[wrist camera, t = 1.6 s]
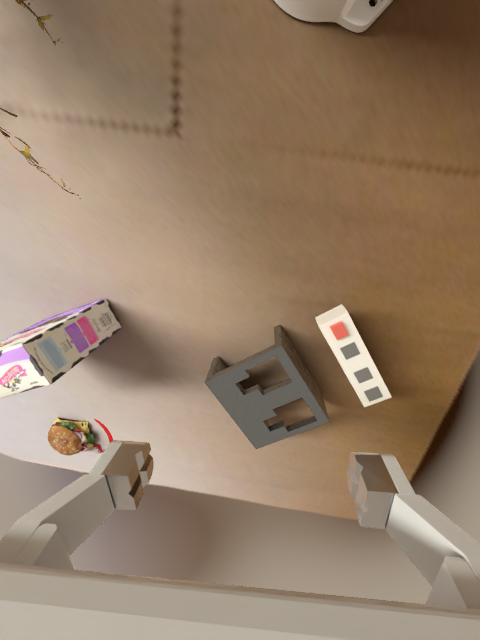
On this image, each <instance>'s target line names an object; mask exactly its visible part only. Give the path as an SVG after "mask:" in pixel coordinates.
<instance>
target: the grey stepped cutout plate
mask: <svg viewBox="0 0 480 640" xmlns="http://www.w3.org/2000/svg"><path fill="white" fill-rule="evenodd" d="M274 333H275V345H273V346H271V347H269V348H267V349H265V350H263V351H261V352H259V353H257V354H255V355H252V356H250V357H248V358H246V359H244V360H242V361H240V362H238V363H236V364H234V365H232V366H230V367H228V368H227V367H226V366H225V364H224V363H223V362H222V360H221V359H220V358H219V356H218V357H216V358H214V359H213V362H212V365H211V367H210V370H209V373H208V375H207V378H206V381H205V384H206V385H207V386H208V388H209V389H210V390H211V391H212V393H213V394H214V395H215V397H216V398H217V399H218V401H219V402H220V403H221V404H222V406H223V407H224V408H225V410H226V411H227V412H228V413H229V415H230V416H231V417H232V419H233V420H234V421H235V423H236V424H237V425H238V426H239V428H240V429H241V430H242V432H243V433H244V434H245V435H246V437H247V438H248V439H249V441H250V442H251V443H252V445H253V446H254V447H255V448H256V449H258V448H261V447H264V446H266V445H269V444H272V443H274V442H277V441H280V440H282V439H285V438H288V437H291V436H293V435H296V434H299V433H301V432H304V431H307V430H309V429H312V428H315V427H318V426H320V425H323V424H326V423H328V422H330V421H329V418H328V414H327V410H326V407H325V403H324V400H323V396H322V392H321V391H320V389H319V388H318V386H317V384H316V383H315V381H314V379H313V378H312V376H311V375H310V373H309V371H308V370H307V368H306V366H305V365H304V363H303V362H302V360H301V358H300V357H299V355H298V353H297V352H296V350H295V349H294V347H293V345H292V344H291V342H290V340H289V339H288V337H287V336H286V334H285V332H284V331H283V329H282V327H281V326H280V325H278V326H276V327H274ZM274 356H276V357H277V359H278V360H279V362H280V364H281V365H282V367H283V368H284V370H285V371H286V373H287V374H288V376H289V377H290V378H289V379H287V380H285V381H283V382H280V383H278V384H276V385H274V386H271V387H269V388H267V389H264V390H262V388H261V387H260V386H259V384H257V385H255V386H253V387H251V388H249V389H246V390H244V389H243V388H242V386H241V385H240V383H239V382H240V381H242V380H244V379H246V378H248V377H250V371H249V370H248V369H249V368H251V367H253V366H255V365H257V364H259V363H261V362H263V361H265V360H268V359H270V358H272V357H274ZM299 398H303V399H304V401H305V402H306V404H307V405H308V407H309V408H310V410H311V411H312V413H313V414H314V416H313V417H310V418H308V419H305V420H303V421H300V422H297V423H295V424H292V425H290V426H287V424H286V423H285V421H282V422H279V423H277V424H274V425H271V426H270V425H269V423H268V422H267V421H266V420H267V419H269V418H272V417H274V416H277V410H276V409H275V408H277V407H280V406H282V405H285V404H287V403H290V402H292V401H294V400H297V399H299Z"/></svg>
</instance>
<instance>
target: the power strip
mask: <svg viewBox="0 0 480 640" xmlns="http://www.w3.org/2000/svg"><path fill="white" fill-rule="evenodd" d="M315 319H316V321H317V324H318V326H319V328H320V330H321V332H322V333H323V335H324V337H325V339H326V340H327V342H328V344H329V346H330V347H331V349H332V351H333V353H334V354H335V356H336V358H337V360H338V362H339V363H340V365H341V367H342V369H343V370H344V372H345V374H346V376H347V377H348V379H349V381H350V383H351V385H352V386H353V388H354V390H355V392H356V393H357V395H358V397H359V399H360V400H361V402H362V404H363V406H364V407H367V406H369V405H372V404H375V403H378V402H380V401H383V400H386V399H388V398H391V395H390V393H389V391H388V389H387V387H386V385H385V383H384V381H383V379H382V377H381V375H380V373H379V371H378V370H377V368H376V366H375V364H374V362H373V360H372V358H371V356H370V354H369V352H368V350H367V348H366V346H365V344H364V342H363V341H362V339H361V337H360V335H359V333H358V331H357V329H356V327H355V325H354V323H353V321H352V319H351V317H350V315H349V314H348V312H347V310H346V309H345V308H344V306H343V305H342V304H341V305H339V306H337V307H335V308H333V309H331V310H329V311H327V312H325V313H323V314H321V315H319V316H317V317H315Z"/></svg>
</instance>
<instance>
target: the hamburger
mask: <svg viewBox="0 0 480 640" xmlns="http://www.w3.org/2000/svg"><path fill="white" fill-rule="evenodd" d="M94 420H95V421H96V422H98V423H99V424H100V425H101V426H102V428H103V429H104V430H105V432H106V433H107V435H108V438H109V441H110V443H111V442H112V441H113V438H112V436H111V434H110V432H109V430H108V429H107V428H106V427H105V426H104V425H103V424H102V423H101V422H99V421H98V420H96V419H94ZM82 423H83V424H84V425H83V426H82ZM85 423H86V425H85ZM48 441H49V443H50V445H51V446H52V447H53V448H54V449H55V450H56V451H58V452H59V453H61V454H64V455H66V456H67V455H72V454H76V453H79V452H80V451H86V450H88V449H90V447H89V446H91V447H92V446H93V445H92V444H94V446H93V447H98V448H96V449H98V452H96V453H103V452H104V449H103V450H102V448H101V445H99V444H95V443H93V442H94V436H93V434H90V431H89V428H88V421H85V422H84V421H80V422H74V421H69V420H59V419H58V418H57V420H55V421H54V422H53V425H52V427H51V429H50V431H49V433H48ZM99 450H100V452H99Z"/></svg>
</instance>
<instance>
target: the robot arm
mask: <svg viewBox="0 0 480 640" xmlns="http://www.w3.org/2000/svg"><path fill="white" fill-rule="evenodd" d="M274 1H275V2H276V3H277V5H278V6H279V7H280V8H282V9H283V10H284V11H285V12H287V13H288V14H290V15H291V16H293V17H295V18H298V19H300V20H304V21H309V22H335V23H338V24H339V25H341V26H343V27H344V28H346V29H348V30H350V31H353V32H356V33H360V32H363V31H365V30H366V29H367V28H369V27H370V25H371V24H372V23H373V22H374V21H375V20H376V19H377V18H378V17H379V16H380V14H381V13H382V12H383V11H384V10H385V9H386V8H387V7H388V6H389V5H390V3H391V2H392V1H393V0H374V1H375V6H374V7H371V6H370V5H369V1H370V0H274ZM150 450H151V448H150V444H149V443H146V442H133V441H117V440H113V441H112V442H111V443H110V444H109V445H108V447H107V448H106V450H105V451H104V452H103V454H102V455H101V457H100V458H99V460H98V461H97V463H96V464H95V466H94V467H93V468H92V470H91V471H90V473H89V474H85V475H83V476H82V477H80V478H79V479H77V480H76V481H74V482H73V483H71V484H70V485H68V486H67V487H65V488H64V489H62V490H61V491H59V492H58V493H56V494H55V495H53V496H52V497H51V498H49V499H47V500H46V501H44V502H43V503H42V504H40V505H39V506H37V507H35V508H34V509H32V510H31V511H29V512H28V513H27V514H25V515H24V516H22V517H21V518H19V519H18V520H17V521H16V522H15V523H14V524H13V526H12V527H11V528H10V529H9V531H8V532H7V533H6V534H5V536H4V537H3V538H2V539H1V540H0V640H480V544H479V543H478V542H477V541H476V540H475V539H473V538H472V537H471V536H470V535H468V534H467V533H466V532H465V531H463V530H462V529H461V528H460V527H459V526H457V525H456V524H455V523H454V522H452V521H451V520H450V519H448V517H446V516H445V515H444V514H442V513H441V512H440V511H439V510H438V509H437V508H435V507H434V506H433V505H432V504H430V503H429V502H428V501H427V500H426V499H424V498H423V497H422V496H421V495H416V494H415V493H414V490H413V489H412V487H411V485H410V483H409V481H408V479H407V478H406V476H405V474H404V472H403V470H402V468H401V467H400V465H399V463H398V461H397V459H396V457H395V456H394V455H393V454H380V453H379V454H377V453H357V452H351V454H350V458H349V460H350V463H351V466H350V467H349V468H348V471H347V481H348V487H349V491H350V494H351V496H352V497H353V498H354V499H355V500H356V501H355V507H354V508H355V511H356V514H357V517H358V521H359V524H360V527H368V528H379V529H386V530H385V531H386V532H387V533H388V534H389V536H390V537H391V538H392V539H393V540H394V541H395V543H396V544H397V545H398V546H399V547H400V549H401V550H402V551H403V552H404V553H405V554H406V556H407V557H408V558H409V559H410V560H411V562H412V563H413V564H414V565H415V566H416V568H417V569H418V570H419V571H420V572H421V574H422V575H423V576H424V577H425V578H426V580H427V581H428V582H429V583H430V584H431V586H432V590H431V592H430V595H429V597H428V600H427V602H426V604H415V603H406V602H395V601H385V600H375V599H365V598H354V597H344V596H335V595H325V594H315V593H304V592H295V591H284V590H274V589H264V588H254V587H244V586H234V585H224V584H213V583H202V582H193V581H182V580H173V579H162V578H153V577H142V576H132V575H122V574H111V573H102V572H92V571H82V570H75V567H74V564H73V562H72V560H71V557H70V555H71V554H72V553H73V552H74V551H75V550H76V549H77V548H78V547H79V546H80V545H81V544H82V543H83V542H84V541H85V540H86V539H87V538H88V537H89V536H90V535H91V534H92V533H93V532H94V531H95V530H96V529H97V528H98V527H99V526H100V525H101V524H102V523H103V522H104V521H105V520H106V519H107V518H108V517H109V516H110V515H111V514H112V513H113V512H114V511H115V509H124V510H125V509H126V510H137V508H138V506H139V503H140V501H141V499H142V497H143V494H144V492H143V487H144V486H145V485H146V484H147V483H149V481H150V478H151V476H152V471H153V457H152V456H151V455H150V454H149V452H150Z"/></svg>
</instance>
